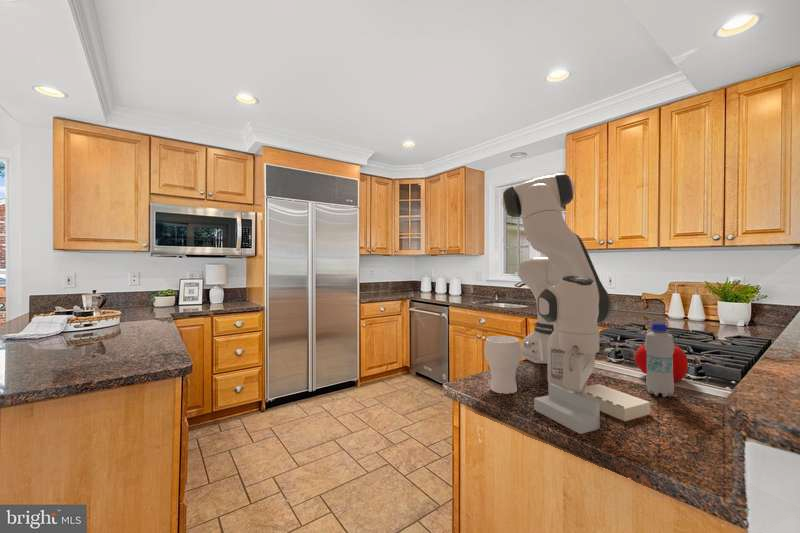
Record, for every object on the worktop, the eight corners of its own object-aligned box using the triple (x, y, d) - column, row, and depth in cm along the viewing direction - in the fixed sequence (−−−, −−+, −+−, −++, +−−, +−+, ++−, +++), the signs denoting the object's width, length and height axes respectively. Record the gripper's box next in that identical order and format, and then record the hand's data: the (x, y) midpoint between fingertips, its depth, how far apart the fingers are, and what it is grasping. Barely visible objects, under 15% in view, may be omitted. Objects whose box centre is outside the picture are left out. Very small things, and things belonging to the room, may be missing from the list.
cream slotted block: (575, 400, 96) (575, 388, 96) (598, 394, 100) (598, 383, 100) (624, 421, 83) (624, 408, 83) (650, 414, 87) (650, 401, 87)
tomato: (669, 388, 103) (669, 349, 103) (627, 373, 116) (626, 339, 116) (700, 382, 107) (699, 345, 106) (655, 369, 120) (655, 335, 120)
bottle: (680, 399, 95) (679, 325, 94) (652, 398, 96) (651, 324, 96) (667, 390, 101) (666, 320, 101) (640, 389, 103) (639, 320, 102)
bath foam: (577, 387, 106) (576, 320, 105) (555, 388, 105) (553, 321, 105) (564, 379, 113) (563, 316, 112) (543, 380, 112) (542, 317, 111)
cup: (477, 389, 107) (476, 339, 106) (499, 380, 113) (498, 333, 113) (508, 399, 98) (507, 345, 98) (529, 389, 105) (528, 339, 105)
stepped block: (534, 409, 91) (533, 386, 91) (552, 405, 93) (551, 383, 93) (580, 434, 78) (579, 407, 78) (599, 428, 80) (599, 402, 80)
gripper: (585, 353, 77) (586, 416, 77) (599, 336, 93) (600, 388, 94) (554, 350, 81) (556, 410, 81) (573, 333, 97) (574, 383, 97)
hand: (579, 398), depth 87 cm, fingers closed
